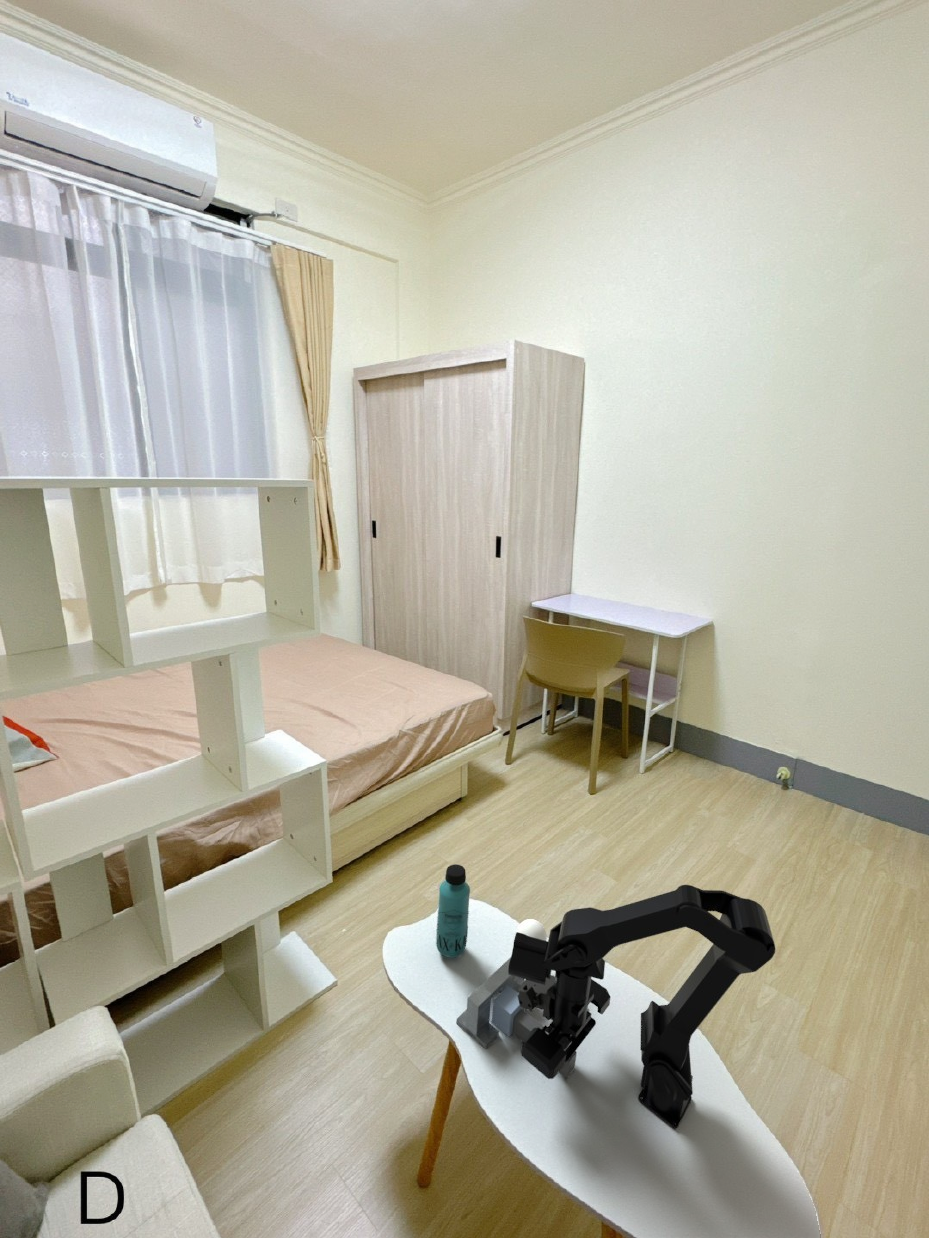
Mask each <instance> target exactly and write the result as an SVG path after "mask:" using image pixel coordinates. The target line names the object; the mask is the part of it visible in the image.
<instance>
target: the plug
mask: <svg viewBox="0 0 929 1238" xmlns="http://www.w3.org/2000/svg"><path fill="white" fill-rule="evenodd" d="M518 994H519V993H518V992H516V991H515V990H514V989H512V988H511V987H510V986H507V987H506V988H505V989H504V990H503V991H502V992H501V993H498V995H497V996H496V997H494V999H493V1000H492V1012H491V1023H492V1025H494V1027H496V1028H497V1029H498V1030H499V1031H501V1032H502V1033H503V1034H505V1035H506V1036H508V1037H510V1036H511V1035H512V1034H513V1035H514V1036H515V1037H516V1038H518V1039H519V1040H520V1041H521V1042H522V1041H523V1040H524V1039H525V1038H526V1037H527V1035H528V1034H529V1033H530V1032H531V1031H532V1030H533V1029H534V1028H538V1027H539V1028H540V1029H542V1028H543V1027H544V1026H545V1025H543V1024H542V1023H540V1022H539V1021H538V1020H537V1019H535V1018H534V1017H533V1016H532V1015H530V1014H529V1013H528V1012H526V1011H525V1010H526V1009H524V1008H522V1007H521V1006H520V1004H519V1000H518ZM576 1060H577V1050H576V1051H575V1052H574V1054H573V1055H572V1056H571V1058H570V1059H569V1060H568V1061H567V1063H566V1064H565V1065H564V1067H563V1068H562V1069H561V1070H560V1071H559V1072H558V1073H560V1074H561V1075H562V1076H563V1077H565V1078H566V1079H568V1078H569V1077H570V1075H571V1074H572V1072H573V1071H574V1069H575V1067H576Z"/></svg>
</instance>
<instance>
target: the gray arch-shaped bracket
mask: <svg viewBox="0 0 929 1238" xmlns="http://www.w3.org/2000/svg"><path fill="white" fill-rule="evenodd" d="M510 959H511V956H510V957H509V958H508V959H507V960H506V961H505V962H504V963H503V964H502V965H501V966H500V967H499V968H497V969H496V971H495V972H493V973H492V974H491V975H490V976H489V977H488V978H487V979H486V980H484V982H483V983H481V984H480V986H478V987H477V988H476V989H475V990H474V991H473V992H472V993H470V994H469V996H467V1003H466V1009H465V1010H464V1011H463V1012H462V1013H461V1014H460V1015H459V1016H458V1017H456V1021H455V1022H456V1024H457V1026H458V1027H460V1028H461V1029H462V1030H463V1031H465V1032H466V1034H468V1036H470V1037H471V1038H472V1039H473V1040H474V1041H475V1042H477V1043H478V1044H479V1045H480V1046H481V1047H482V1048H483V1049H484V1050H487V1049H488V1047H490V1045H492V1043H493V1042H494V1041H495V1040H496V1039H497V1038H498V1037H499V1036H500V1030H499V1029H498V1028H497V1027H496V1026H495V1025H494V1024H491V1023H490V1020H491V1019H490V1018H491V1007H492V1006H491V1005H492V999H493V998H495V996H496V995H497V994H500V993H501V992H502V991H503V990H504V989H505V988H506V987H507V986H510V987H511V988H512V989H514V990H515V991H516V992H518V993H519V988H520V987H521V985H522V983H523V982H524V981H525V980H526V979H523V978H519V977H516V976H512V975H509V974H508V968H509V962H510ZM493 1025H494V1026H493Z"/></svg>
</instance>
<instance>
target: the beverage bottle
mask: <svg viewBox="0 0 929 1238" xmlns="http://www.w3.org/2000/svg"><path fill="white" fill-rule="evenodd" d="M444 878H445V880H443V881H442V882H441V883H440V885H439V887H438V891H439V895H438V908H437V909H438V910H437V919H436V921H437V922H436V923H437V924H436V931H435V932H436V933H435V935H436V936H435V937H436V941H435V946H436V949H437V951H438V952H439V954H440V955H443V956H444V957H445V958H458V957H460V956H461V955H463V953H464V952H465V950H466V948H467V943H468V941H467V940H468V933H469V932H468V931H469V930H468V929H469V914H470V913H469V912H470V911H469V907H470V906H469V905H470V893H471V887H470V885H469V884H468V883H467V881H466V880H467V876H466V868H465V867H464V866H462V865H461V864H455V863H454V864H451V865H449V866H448V867H447V868H446V871H445V877H444Z"/></svg>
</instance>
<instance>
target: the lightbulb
mask: <svg viewBox="0 0 929 1238" xmlns="http://www.w3.org/2000/svg"><path fill="white" fill-rule="evenodd" d="M515 932H516V933H517V932H519V933H522V934H525V935H527V936H530V937H533V938H537V939H541V940H544V941H548V938H547V937H548V936H547V935H548V934H547V931H546V929H545V927H544V925H543V924H542V923H541V922H540V921H538V920H536V919H533V918H529V919H528V918H527V919H525V920H523V921H521V923H519V925H518V926H517V928H516V931H515ZM516 933H515V934H516Z"/></svg>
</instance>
